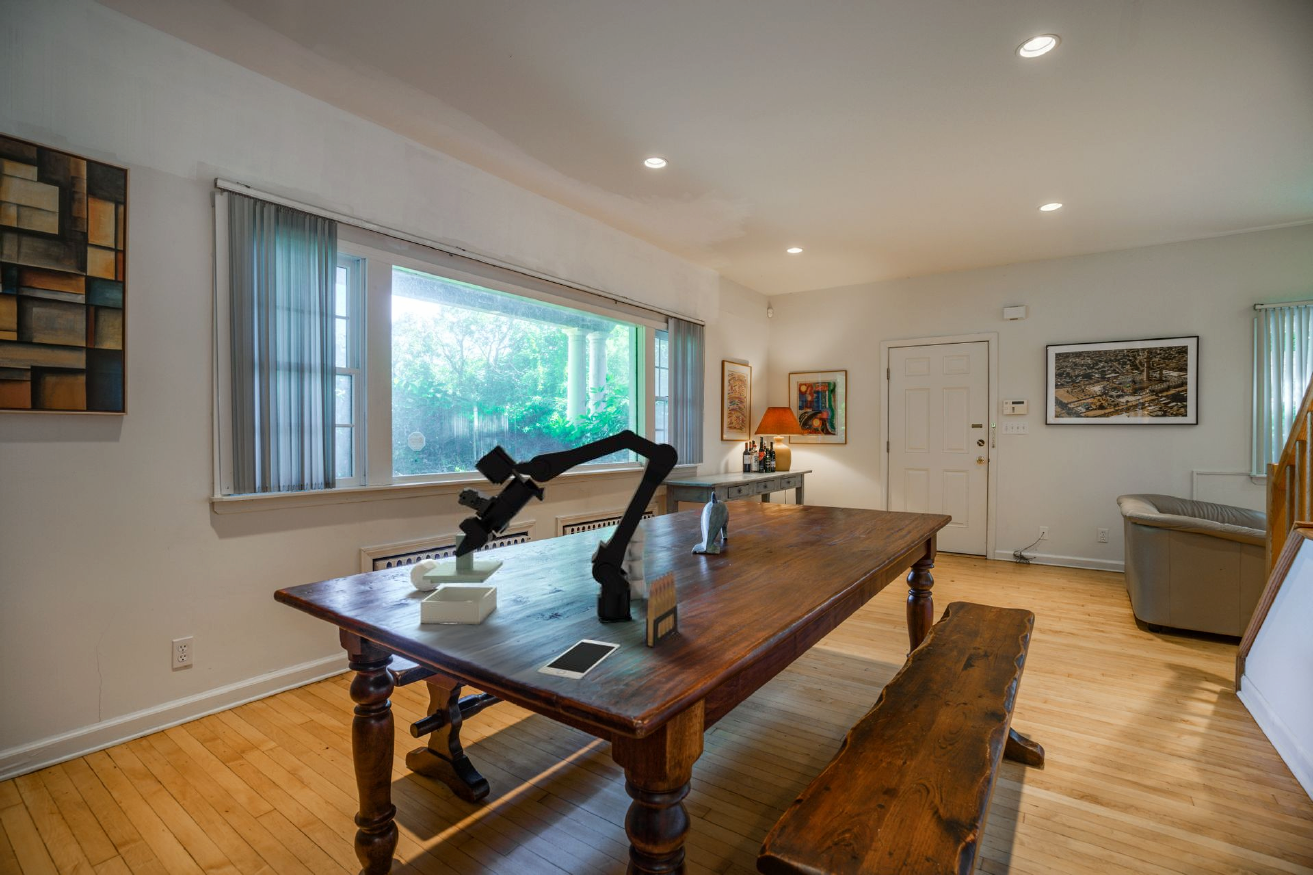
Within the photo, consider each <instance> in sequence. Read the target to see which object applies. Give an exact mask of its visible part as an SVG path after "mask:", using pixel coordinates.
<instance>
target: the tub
mask: <svg viewBox="0 0 1313 875" xmlns="http://www.w3.org/2000/svg"><path fill="white" fill-rule="evenodd" d="M497 590H498V588H497V586H458V585H457V586H456V585H455V586H453V585H451V586H450V585H443V586H441V587H440V588H438V589H437V590H435V591H434V592H433V593H431V594H429V595H428V596H427V597H425V598H423V599H422V600H420V624H421V623H425V624H424V625H427V624H426V623H430V624H429V625H434V624H433V623H457V624H456V625H468V624H475V625H474V626H476V625H477V626H479V625H481V623H482V622H484V620H485V619H487V618H488V616H489V615H490V614H492V612H494V610H495V609H496V608H497V607H498V606H497V605H498V604H497V603H498V602H497V601H498V600H497V597H498V596H497V595H498V593H497ZM431 623H432V624H431Z"/></svg>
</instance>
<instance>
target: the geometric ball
mask: <svg viewBox="0 0 1313 875" xmlns="http://www.w3.org/2000/svg"><path fill="white" fill-rule="evenodd" d="M439 565H441V564H440V562H439V561H438V560H435V559H433V558H428V559H427V558H425V559H421V560H420V561H418V562H417V563H416V564H414V566H413V568H412V569H411V570H410V573H409V574H410V582H411V584H412V586H414V588H416V589H417V590H418V591H421V592H423V591H425V592H431V591H434V590H435V589H437V588H438V587H439V586H440V585H441V584H442V583H431V580H423V575H425V574H426V573H428V572H430V571H431V570H433V569H434V568H436V567H438V566H439Z"/></svg>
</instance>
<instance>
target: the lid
mask: <svg viewBox="0 0 1313 875" xmlns="http://www.w3.org/2000/svg"><path fill="white" fill-rule="evenodd" d="M465 535H466V534H465V533H458V534H456V535H455V551H456V550H457V549H458V547H459V545H460V544H461V542H462V540H463V539H464V537H465ZM502 566H504V561H503V560H500V561H499V560H491V561H488V560H487V561H485V560H483V561H482V560H481V561H474V551H471V552H469V553H467V554H465V555H463V556H460V557H457V556H455V561H444V562H442V563H441V564H440V565H439V566H438V567H436V568H434V569H433V570H431V571H430V572H428V573H426V574H425V575H423V580H431V583H441V584H483V583H485V582H486V581H487V580H488V579H489V578H490V577H491V576H492V575H494V573H496V571H498V570H499V569H500V568H501V567H502Z"/></svg>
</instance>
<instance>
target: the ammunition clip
mask: <svg viewBox="0 0 1313 875" xmlns="http://www.w3.org/2000/svg"><path fill="white" fill-rule="evenodd" d="M666 573H667V574H663V575H662V576H659V577H658V578H655V579H654V580H655V581H654V580H651V582H650V584H649V589H648V590H649V594H648V595H649V596H648V603H647V617H646V618H645V647H650V648H653V647H655V648H657V647H658V646H659V645H660V644H662V643H663V642H664V641H666V640H667V639H668V638H669V637H668V636H670V635H671V634H672V633H673V632H675V631H676V630H678V604H677V592H676V581H675V580H676V578H675V575H674V574H675V573H674V571H673V570H671V571H670V572H666ZM676 632H677V631H676ZM676 632H675V633H676ZM672 635H673V634H672ZM672 635H671V636H672ZM671 636H670V637H671ZM667 637H668V638H667ZM666 638H667V639H666ZM665 639H666V640H665ZM662 641H663V642H662ZM661 642H662V643H661ZM659 643H660V644H659ZM657 645H658V646H657ZM656 646H657V647H656Z"/></svg>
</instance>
